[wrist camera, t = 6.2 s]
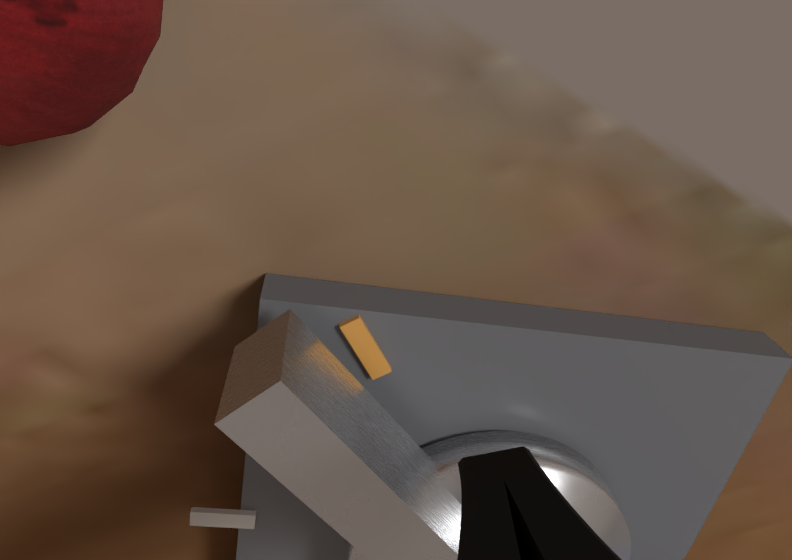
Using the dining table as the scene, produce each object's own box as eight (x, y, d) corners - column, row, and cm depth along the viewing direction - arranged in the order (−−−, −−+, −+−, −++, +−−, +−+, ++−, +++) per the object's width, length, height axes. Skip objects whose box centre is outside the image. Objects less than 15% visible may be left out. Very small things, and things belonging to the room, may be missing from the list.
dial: (654, 544, 22) (712, 650, 18) (442, 652, 24) (460, 767, 20) (405, 215, 15) (424, 285, 12) (139, 398, 17) (91, 504, 14)
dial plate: (605, 642, 27) (620, 682, 26) (192, 629, 24) (183, 673, 23) (764, 332, 20) (798, 362, 19) (211, 267, 17) (199, 295, 16)
